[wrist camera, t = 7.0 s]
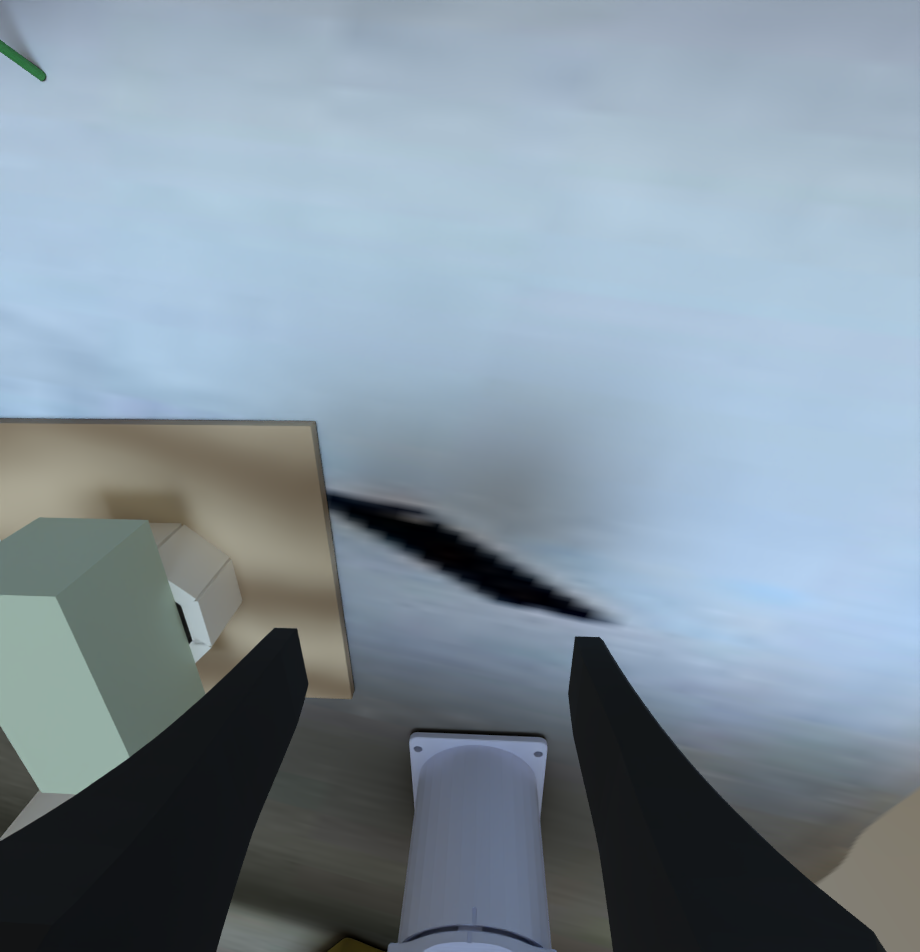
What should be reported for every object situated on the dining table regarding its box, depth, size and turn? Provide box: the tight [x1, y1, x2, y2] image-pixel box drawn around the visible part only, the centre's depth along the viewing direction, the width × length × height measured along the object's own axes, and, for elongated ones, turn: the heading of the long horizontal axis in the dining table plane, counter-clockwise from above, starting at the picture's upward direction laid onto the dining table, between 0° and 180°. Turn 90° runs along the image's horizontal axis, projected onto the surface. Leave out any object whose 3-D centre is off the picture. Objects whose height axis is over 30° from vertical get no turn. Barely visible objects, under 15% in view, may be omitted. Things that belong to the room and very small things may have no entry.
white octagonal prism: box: [149, 523, 242, 663], centre depth 23 cm, size 6×6×3 cm
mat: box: [0, 418, 354, 699], centre depth 24 cm, size 16×16×1 cm
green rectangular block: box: [0, 517, 205, 794], centre depth 19 cm, size 10×4×4 cm, turn 0°
